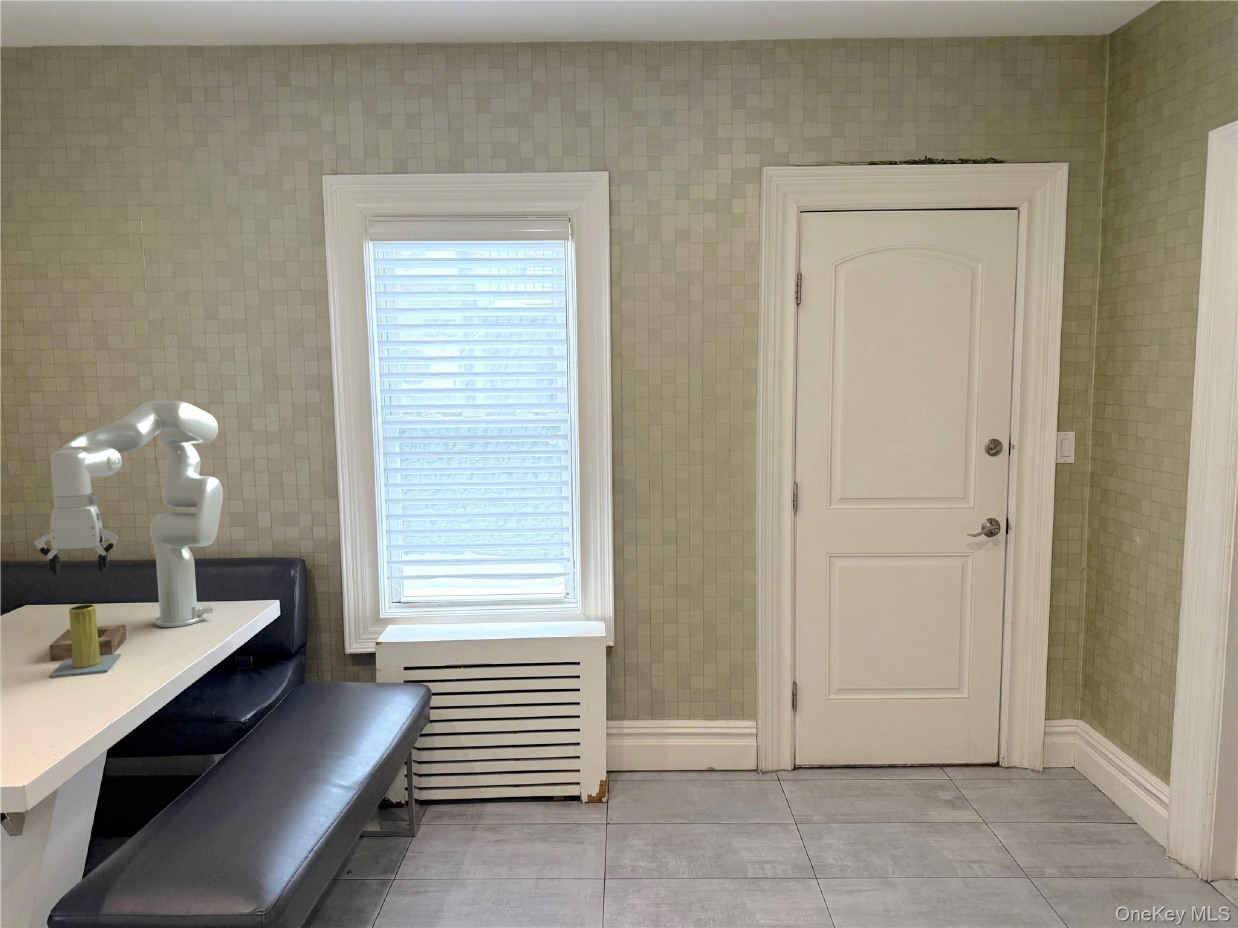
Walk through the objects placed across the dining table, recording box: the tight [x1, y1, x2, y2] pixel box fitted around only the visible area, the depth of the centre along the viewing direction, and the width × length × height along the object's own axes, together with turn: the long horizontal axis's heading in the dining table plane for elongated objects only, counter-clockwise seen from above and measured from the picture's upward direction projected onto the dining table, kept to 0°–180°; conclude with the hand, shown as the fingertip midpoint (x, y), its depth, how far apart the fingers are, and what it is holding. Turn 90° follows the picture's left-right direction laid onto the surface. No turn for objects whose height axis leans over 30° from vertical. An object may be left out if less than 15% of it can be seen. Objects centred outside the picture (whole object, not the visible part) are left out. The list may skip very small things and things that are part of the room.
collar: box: [48, 624, 127, 662], centre depth 211 cm, size 14×14×4 cm
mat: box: [48, 653, 122, 679], centre depth 199 cm, size 12×12×1 cm
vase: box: [68, 603, 101, 668], centre depth 198 cm, size 6×6×14 cm
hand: (80, 572), depth 197 cm, fingers open, 9 cm apart
